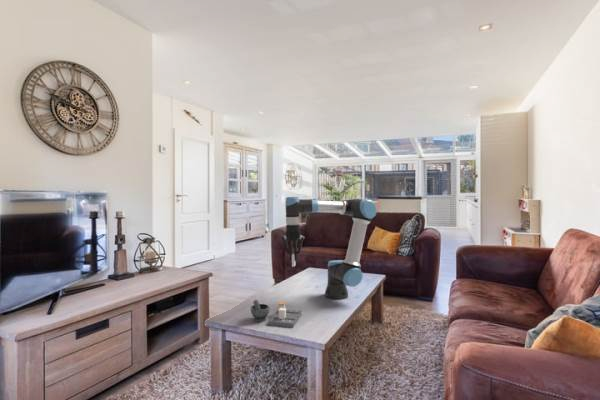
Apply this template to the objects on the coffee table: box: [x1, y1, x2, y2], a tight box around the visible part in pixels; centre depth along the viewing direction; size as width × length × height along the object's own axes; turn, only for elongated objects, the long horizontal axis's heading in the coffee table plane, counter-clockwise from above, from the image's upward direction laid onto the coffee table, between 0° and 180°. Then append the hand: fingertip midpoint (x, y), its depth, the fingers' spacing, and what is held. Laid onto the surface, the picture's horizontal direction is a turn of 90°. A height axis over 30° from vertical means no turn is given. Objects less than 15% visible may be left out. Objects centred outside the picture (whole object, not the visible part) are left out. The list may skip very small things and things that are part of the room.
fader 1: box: [277, 301, 286, 312], centre depth 173 cm, size 3×3×5 cm
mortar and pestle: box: [250, 299, 270, 323], centre depth 166 cm, size 11×9×12 cm
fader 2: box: [279, 307, 287, 319], centre depth 164 cm, size 3×3×5 cm
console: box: [268, 308, 302, 328], centre depth 168 cm, size 13×18×2 cm
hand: (293, 266), depth 179 cm, fingers closed
